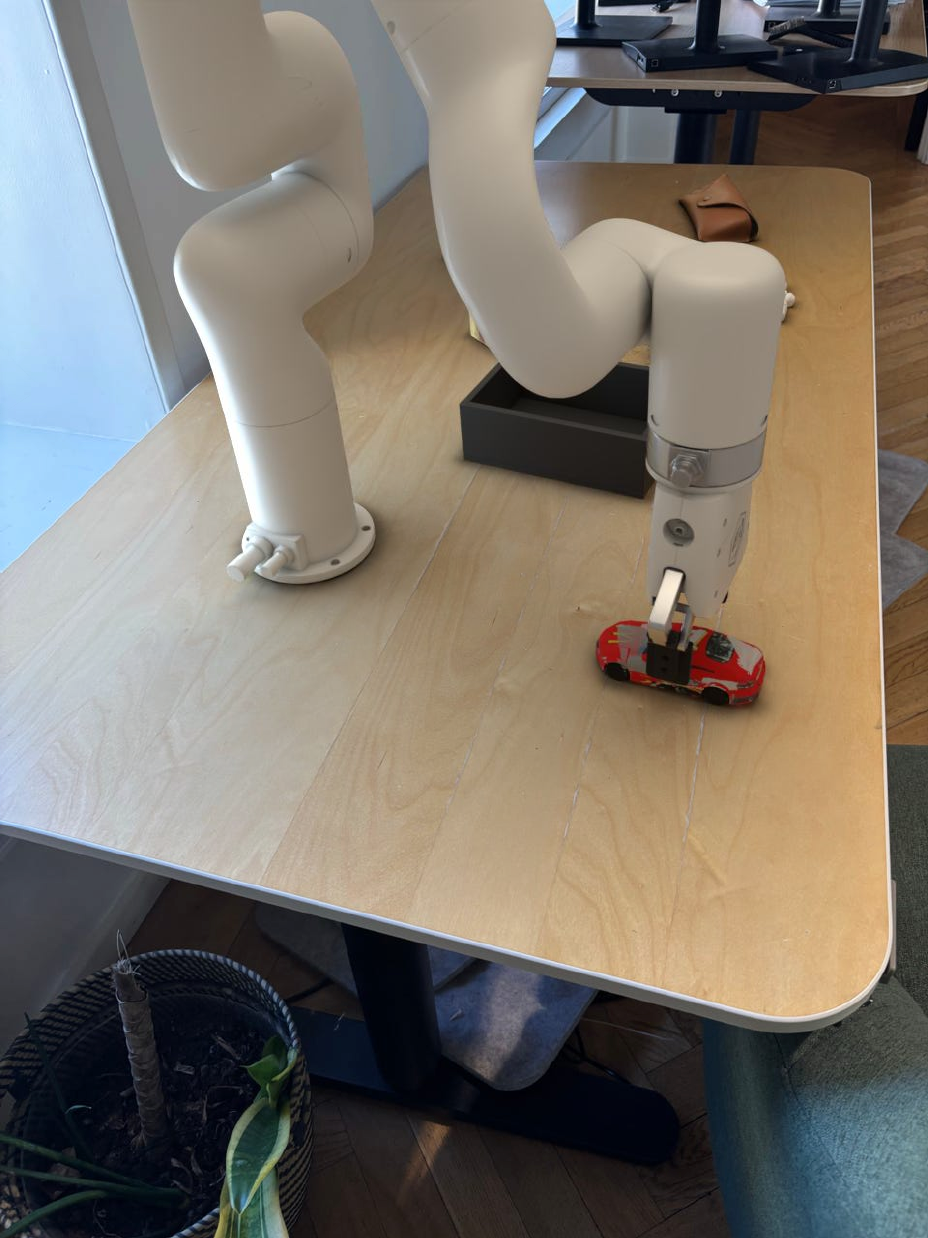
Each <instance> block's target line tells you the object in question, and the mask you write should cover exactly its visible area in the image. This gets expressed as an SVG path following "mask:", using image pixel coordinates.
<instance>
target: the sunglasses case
mask: <svg viewBox="0 0 928 1238" xmlns="http://www.w3.org/2000/svg"><path fill="white" fill-rule="evenodd" d="M678 202H679V203H680V204H681V205H682V206H683V208H684V210H685V211H686V213H687V215H688V216H689V218H690V220H691V223H692V225H693V227H694V230H695V232H696V236H697V241H700V242H703V243H706V242H736V243H744V244H745V243H750V242H751V241H753V240H754V239H755V238H757V236H758V233H759V222H758V221H757V219H756V217H755V216H754V213H753V211H752V209H751V208H750V205H748V203H747V200H746V199H745V198H744V196H743V195H742V193H741V192H740V191H739V188H738V187H737V185H735V183H734V182H733V181H732V179H731V178H730V176H729V174H727V173H726V172H723V173H722V174H721V175H720V176H719V177H718V178H717V179H716V180H714V181H712V182H709V183H707V184H705V185H704V186H701V187H699V188H697V189H695V190H694V191H692V192H689V193H687V194H686V195H684V196H682V197H679V198H678Z"/></svg>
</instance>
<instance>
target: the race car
mask: <svg viewBox="0 0 928 1238" xmlns="http://www.w3.org/2000/svg"><path fill="white" fill-rule="evenodd" d="M682 624H683V622H682V623H681V622H676V621H675V622H674V621H672V628H671V630H675V631H678V632H681V628H682ZM647 625H648V621H641V620H632V619H630V620H629V619H627V620H620V621H617V622H615V623H614V624H612V625H610V626H608V627H606V628H605V629H604V630H603V631H602V632H601V634H600V635H599V636H598V639H597V640H596V643H595V658H596V661H597V663H598V666H599V667H600V668H601V670H602V671H603V672H605V673H606V674H607V676H608V677H609V678H611V679H613V680H615V681H621V682H622V681H625V680H627V679H628V678H629V681H631V682H635V683H639V684H642V685H647V686H651V687H655V688H660V689H663V690H668V691H671V692H675V693H679V694H683V695H687V696H691V697H694V698H695V697H696V698H699V699H701V698H702V697H703V698H704V700H705V701H706V702H707V703H708V704H711V705H714V706H723V705H725V704H726V703H727V702H728V701H729V702H728V705H745V704H748V703H752V702H753V701H754V700H755V699H758V697H759V695H760V691H761V689H762V686H763V683H764V679H765V676H766V669H767V668H766V667H767V666H766V665H767V664H766V661H765V660H764V653H763V652H762V650H761V649H760V648H759V647H757V646H756V645H754V644H752V643H749V642H746V641H744V640H741V639H738V638H736V637H733V636H730V635H728V634H726V633H723V632H719V631H716V630H714V629H710V628H706V627H704V626H698V625H695V624H693V627H692V631H691V635H690V639H689V641H691V642H694V644H693V655H692V666H691V676H690V681H689V683H688V685H686V686H682V685H679V684H675V683H671V682H668V681H664V680H660V679H657V678H653V677H650V676H648V675H647V674H646V656H647V635H646V634H647ZM702 695H703V696H702Z"/></svg>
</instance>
